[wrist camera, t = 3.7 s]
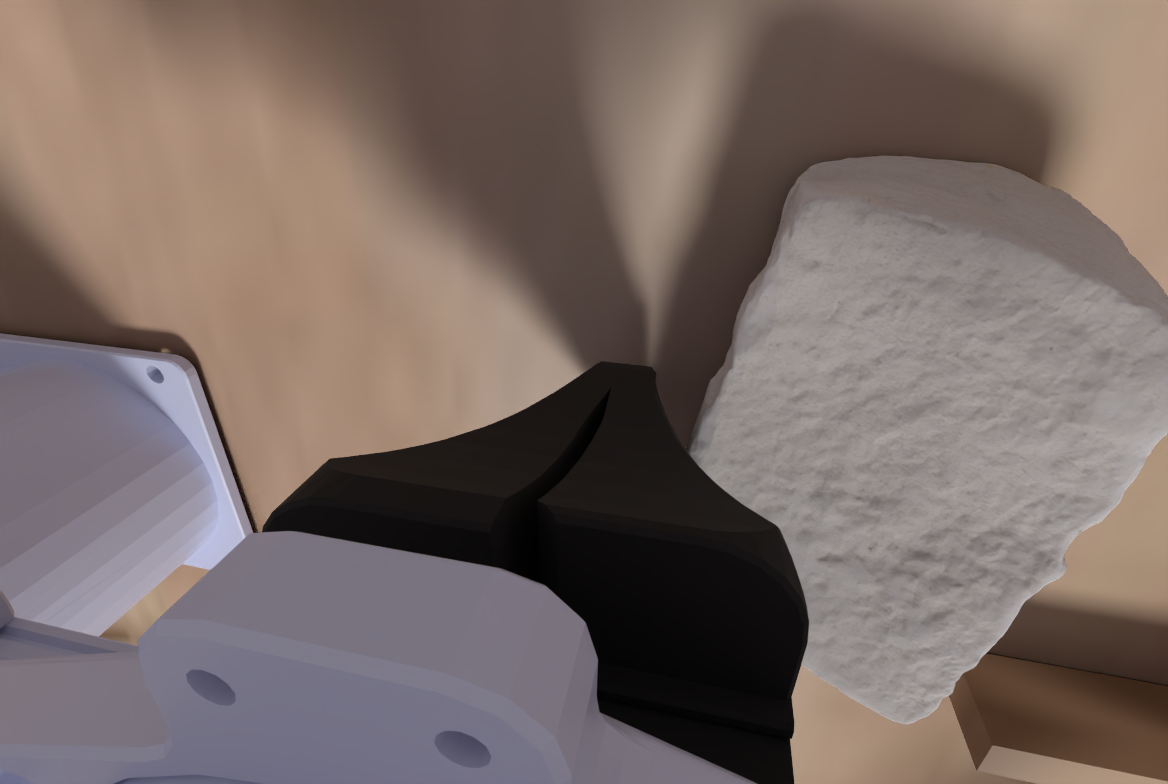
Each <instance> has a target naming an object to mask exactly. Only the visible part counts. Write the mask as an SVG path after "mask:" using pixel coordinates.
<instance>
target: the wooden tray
mask: <svg viewBox="0 0 1168 784" xmlns="http://www.w3.org/2000/svg"><path fill="white" fill-rule="evenodd" d="M949 697H950V700H951V702H952V705H953V708H954V711H955V713H956V716H957V719H958V721H959V724H960V727H961V729H962V732H963V735H964V738H965V740H966V743H967V746H968V748H969V751H970V754H971V756H972V759H973V762H974V765H975V767H976V770H977V771H980V772H984V773H989V774H994V775H998V776H1003V777H1007V778H1012V779H1017V780H1021V781H1026V782H1031V783H1035V784H1168V686H1164V685H1159V684H1153V683H1148V682H1142V681H1136V680H1131V679H1125V678H1120V677H1114V676H1109V675H1103V674H1098V673H1092V672H1086V671H1081V670H1075V669H1070V668H1064V667H1059V666H1053V665H1048V664H1042V663H1036V662H1031V661H1025V660H1020V659H1014V658H1009V657H1003V656H998V655H992V654H985V655H984V656H983V657H982V658H981V659H980V661H979V662H978V664H977V665H976V667H974V668H973V669H971V670H969V671H966V672H964V673H963V674H962V675H961V677H960V679H959V680H958V681H956V683H955V687H954V691H953V693H952V694H951V695H949Z"/></svg>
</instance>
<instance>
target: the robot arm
mask: <svg viewBox="0 0 1168 784" xmlns="http://www.w3.org/2000/svg"><path fill="white" fill-rule="evenodd" d="M655 380H656V372H655V371H654V369H653V368H652V367H648V366H639V365H629V364H620V363H610V362H600V363H598V364H596V365H595V366H593V367H592V368H590V369H589V370H587V371H586V372H585V373H583V374H582V375H580V376H579V377H577V378H576V379H574V380H573V381H571V382H570V383H568V384H567V385H565V386H564V387H562V388H561V389H559V390H558V391H556V392H554V393H553V394H551V395H549V396H547V397H546V398H544V399H542V400H540V401H539V402H537V403H535V404H533V405H532V406H530V407H528V408H526V409H524V410H522V411H520V412H518V413H516V414H514V415H512V416H510V417H507V418H505V419H503V420H500V421H498V422H495V423H493V424H491V425H488V426H485V427H483V428H480V429H476V430H473V431H470V432H467V433H464V434H461V435H458V436H455V437H451V438H448V439H445V440H441V441H437V442H433V443H429V444H425V445H420V446H415V447H410V448H405V449H400V450H394V451H389V452H382V453H374V454H366V455H358V456H350V457H343V458H332V459H329V460H328V461H327V462H326V463H324V464H323V465H322V466H321V467H320V468H319V469H318V470H317V471H316V472H315V473H314V474H313V475H312V476H310V477H309V478H308V479H307V480H306V481H305V482H304V483H303V484H302V485H301V486H300V487H299V488H298V489H297V490H296V491H294V492H293V493H292V494H291V495H290V496H289V497H288V498H287V499H286V500H285V501H284V502H283V503H282V504H281V505H279V506H278V507H277V508H276V509H275V510H274V511H273V512H272V513H271V515H270V517H269V518H268V520H267V521H266V523H265V524H264V526H263V530H262V533H253V531H252V528H251V525H250V522H249V519H248V516H247V514H246V511H245V508H244V505H243V502H242V499H241V496H240V494H239V491H238V488H237V485H236V482H235V479H234V477H233V474H232V471H231V468H230V465H229V462H228V459H227V457H226V454H225V451H224V448H223V445H222V442H221V439H220V437H219V434H218V431H217V428H216V425H215V422H214V420H213V417H212V414H211V411H210V408H209V405H208V402H207V400H206V397H205V394H204V391H203V388H202V385H201V382H200V380H199V377H198V374H197V371H196V369H195V368H194V366H193V365H192V364H191V363H190V362H189V361H188V360H187V359H185V358H184V357H182V356H179V355H175V354H167V353H159V352H151V351H142V350H134V349H126V348H117V347H109V346H101V345H93V344H84V343H76V342H68V341H60V340H51V339H43V338H35V337H26V336H18V335H10V334H2V333H0V784H794V776H793V766H792V756H791V746H790V738H791V739H792V736H793V733H794V717H793V708H792V698H791V696H792V693H793V690H794V686H795V683H796V680H797V677H798V673H799V670H800V667H801V663H802V660H803V657H804V653H805V650H806V647H807V643H808V632H809V618H808V611H807V605H806V601H805V596H804V592H803V589H802V586H801V583H800V580H799V576H798V573H797V570H796V568H795V565H794V562H793V559H792V556H791V554H790V551H789V549H788V547H787V544H786V542H785V539H784V537H783V535H782V532H781V530H780V529H779V527H778V526H776V525H775V524H773V523H772V522H770V521H768V520H767V519H765V518H764V517H762V516H760V515H759V514H757V513H756V512H754V511H753V510H751V509H749V508H748V507H746V506H745V505H743V504H741V503H740V502H739V501H737V500H736V499H735V498H734V497H732V496H731V495H730V494H728V493H727V492H726V491H725V490H723V489H722V488H721V487H720V486H719V485H717V484H716V483H715V482H714V481H713V480H712V479H711V478H710V477H709V476H708V475H707V474H706V473H705V472H704V471H703V470H702V469H701V468H700V467H699V466H698V465H697V463H696V462H695V461H694V460H693V458H692V457H691V456H690V454H689V453H688V452H687V450H686V449H685V448H684V446H683V445H682V443H681V442H680V440H679V438H678V437H677V435H676V433H675V431H674V430H673V428H672V426H671V424H670V422H669V420H668V418H667V416H666V414H665V411H664V409H663V406H662V404H661V401H660V398H659V395H658V392H657V388H656V383H655ZM181 564H184V565H189V566H194V567H199V568H204V569H209V570H210V571H209V572H208V573H207V574H206V575H205V576H204V577H203V578H202V579H200V580H199V581H198V582H197V583H196V584H195V585H194V586H193V587H192V588H191V589H190V590H189V591H188V592H187V593H185V594H184V595H183V596H182V597H181V598H180V599H179V600H178V601H177V602H176V603H175V604H174V605H173V606H172V607H171V608H169V609H168V610H167V611H166V612H165V613H164V614H163V615H162V616H161V617H160V618H159V619H158V620H157V621H156V622H155V623H154V624H153V625H152V626H151V627H150V628H149V629H148V630H147V631H146V632H145V633H144V634H143V635H142V636H141V637H140V638H139V639H138V646H135V645H131V644H127V643H123V642H119V641H114V640H110V639H106V638H102V637H99V636H100V635H101V634H102V633H103V632H104V631H105V630H107V629H108V628H109V627H110V626H111V625H112V624H113V623H115V622H116V621H117V620H118V619H119V618H120V617H121V616H123V615H124V614H125V613H126V612H127V611H128V610H129V609H131V608H132V607H133V606H134V605H135V604H136V603H137V602H139V601H140V600H141V599H142V598H143V597H144V596H146V595H147V594H148V593H149V592H150V591H151V590H152V589H154V588H155V587H156V586H157V585H158V584H159V583H160V582H162V581H163V580H164V579H165V578H166V577H167V576H168V575H170V574H171V573H172V572H173V571H174V570H175V569H176V568H178V567H179V566H180V565H181Z"/></svg>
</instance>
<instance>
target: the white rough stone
mask: <svg viewBox="0 0 1168 784" xmlns="http://www.w3.org/2000/svg"><path fill="white" fill-rule="evenodd" d="M1167 433H1168V297H1167V295H1166V294H1165V292H1164V290H1163V289H1162V287H1161V286H1160V285H1159V283H1158V282H1157V281H1156V280H1155V279H1154V278H1153V276H1152V275H1151V274H1150V273H1149V272H1148V271H1147V270H1146V269H1145V268H1144V267H1143V265H1142V264H1141V263H1140V262H1139V261H1138V260H1137V259H1136V258H1135V257H1133V256H1132V255H1131V254H1130V253H1129V251H1128V249H1127V248H1126V246H1125V245H1124V243H1123V241H1122V239H1121V238H1120V237H1119V236H1118V235H1117V234H1116V233H1115V232H1114V231H1112V230H1111V229H1110V228H1109V227H1108V226H1107V225H1106V224H1104V223H1103V222H1102V221H1101V220H1100V219H1098V218H1097V217H1096V216H1094V215H1093V214H1092V213H1091V211H1090V210H1088V209H1087V208H1086V207H1084V206H1083V205H1082V204H1081V203H1080V202H1078V201H1077V200H1076V199H1074V198H1072V197H1071V196H1070V195H1069V194H1067V193H1066V192H1064V191H1062V190H1059V189H1056V188H1053V187H1049V186H1046V185H1043V184H1040V183H1038V182H1036V181H1035V180H1033V179H1030V178H1028V177H1027V176H1025V175H1023V174H1022V173H1020V172H1017V171H1013V170H1010V169H1007V168H1005V167H1003V166H999V165H995V164H990V163H973V162H963V161H954V160H945V159H930V158H918V157H911V156H886V155H884V156H873V157H862V158H846V159H842V160H835V161H829V162H822V163H817V164H814V165H812V166H811V167H809V168H808V169H807V170H806V171H805V172H804V173H803V174H802V175H801V176H800V177H798V179H797V180H796V182H795V184H794V186H793V187H792V188H791V189H790V192H789V193H788V196H787V198H786V201H785V204H784V208H783V211H782V216H781V221H780V225H779V228H778V232H777V235H776V238H775V240H774V243H773V247H772V250H771V255H770V256H769V258H768V261H767V264H766V266H765V268H764V269H763V270H762V271H761V272H760V273H759V274H758V276H757V277H756V279H755V280H754V281H753V282H752V283H751V284H750V286H749V287H748V291H747V293H746V296H745V297H744V300H743V302H742V304H741V306H740V308H739V311H738V313H737V316H736V321H735V325H734V329H733V341H732V345H731V347H730V349H729V351H728V352H727V356H726V360H725V362H724V365H723V366H722V367H721V368H720V369H719V371H718V372H717V374H716V375H715V376H714V377H713V378H712V379H711V380H710V383H709V385H708V387H707V390H706V394H705V397H704V401H703V404H702V406H701V409H700V412H699V415H698V417H697V420H696V422H695V425H694V428H693V431H692V434H691V437H690V441H689V445H688V449H687V452H688V453H689V454H690V456H691V457H692V458H693V460H694V461H695V462H696V463H697V465H698V466H699V467H700V468H701V469H702V470H703V471H704V472H705V473H706V474H707V475H708V476H709V477H710V478H711V479H712V480H713V481H714V482H715V483H716V484H717V485H719V486H720V487H721V488H722V489H723V490H725V491H726V492H727V493H728V494H730V495H731V496H732V497H734V498H735V499H736V500H737V501H739V502H740V503H741V504H743V505H745V506H746V507H748V508H749V509H751V510H753V511H754V512H756V513H757V514H759V515H760V516H762V517H764V518H765V519H767V520H768V521H770V522H772V523H773V524H775V525H776V526H778V527H779V529H780V530H781V532H782V535H783V537H784V539H785V542H786V544H787V547H788V549H789V551H790V554H791V556H792V559H793V562H794V565H795V568H796V570H797V573H798V576H799V580H800V583H801V586H802V589H803V592H804V596H805V601H806V605H807V611H808V618H809V632H808V643H807V647H806V650H805V653H804V657H803V660H802V663H801V665H802V666H804V667H806V668H807V669H809V670H810V671H811V672H813V673H814V674H815V675H817V676H818V677H819V678H820V679H822V680H823V681H825V682H827V683H828V684H830V685H832V686H834V687H835V688H837V689H838V690H840V691H841V692H842V693H844V694H845V695H847V696H849V697H850V698H852V699H854V700H856V701H857V702H858V703H860V704H862V705H864V706H866V707H869V708H870V709H872V710H873V711H875V712H876V713H878V714H880V715H882V716H884V717H886V718H888V719H890V720H892V721H894V722H898V723H902V724H910V723H913V722H915V721H917V720H919V719H921V718H925V717H927V716H928V715H930V714H931V713H932V712H933V711H935V710H936V709H937V708H938V706H939V704H940V702H941V700H942V699H943V697H946V696H949V695H951V694H952V693H953V691H954V687H955V683H956V681H958V680H959V679H960V677H961V675H962V674H963V673H964V672H966V671H969V670H971V669H973V668H974V667H976V665H977V664H978V662H979V661H980V659H981V658H982V657H983V656H984V655H985V654H986V653H987V652H988V651H989V650H990V649H991V647H992V646H994V645H995V644H996V643H997V641H998V640H999V639H1000V638H1001V637H1002V636H1003V635H1004V634H1005V632H1006V631H1007V630H1008V628H1009V626H1010V625H1011V623H1012V622H1013V620H1014V618H1015V617H1016V616H1017V614H1018V612H1019V610H1020V608H1021V606H1022V605H1023V604H1024V602H1025V601H1026V600H1027V599H1029V598H1030V597H1032V596H1033V595H1034V594H1035V593H1037V592H1039V591H1040V590H1041V589H1042V588H1043V587H1044V586H1045V585H1047V584H1049V583H1051V582H1053V581H1055V580H1057V579H1059V578H1060V577H1061V576H1063V575H1064V574H1065V572H1066V567H1067V565H1066V562H1065V559H1064V557H1063V556H1064V553H1065V551H1066V549H1067V548H1068V546H1069V545H1070V544H1071V542H1072V541H1073V540H1074V539H1075V537H1077V536H1078V535H1079V534H1080V533H1081V532H1082V531H1084V530H1086V529H1087V528H1089V527H1091V526H1092V525H1096V524H1098V523H1100V522H1101V521H1102V520H1103V519H1104V518H1105V517H1106V516H1107V515H1108V514H1109V512H1110V511H1111V510H1112V509H1113V508H1115V507H1116V506H1117V505H1118V504H1119V502H1120V501H1121V499H1122V496H1123V494H1124V491H1125V490H1126V489H1127V488H1128V487H1129V485H1130V484H1131V483H1132V482H1133V481H1134V480H1135V479H1136V477H1137V476H1138V474H1139V472H1140V470H1141V468H1142V466H1143V465H1144V464H1145V461H1146V458H1147V456H1148V455H1150V453H1151V452H1152V450H1153V448H1154V446H1155V445H1156V444H1157V443H1158V442H1159V441H1160V439H1161V438H1163V437H1164V436H1165V435H1166V434H1167Z"/></svg>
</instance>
